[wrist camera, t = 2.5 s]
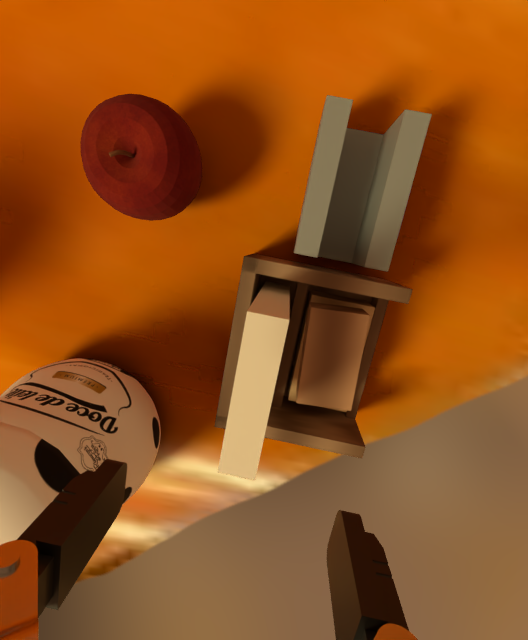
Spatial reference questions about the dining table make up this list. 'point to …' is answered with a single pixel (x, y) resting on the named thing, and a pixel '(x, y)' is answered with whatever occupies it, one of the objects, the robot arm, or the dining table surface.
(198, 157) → the apple
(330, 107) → the holder
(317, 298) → the offcut large
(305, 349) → the offcut small
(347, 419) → the box
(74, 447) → the milk container
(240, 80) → the dining table surface
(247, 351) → the cream rectangular board
